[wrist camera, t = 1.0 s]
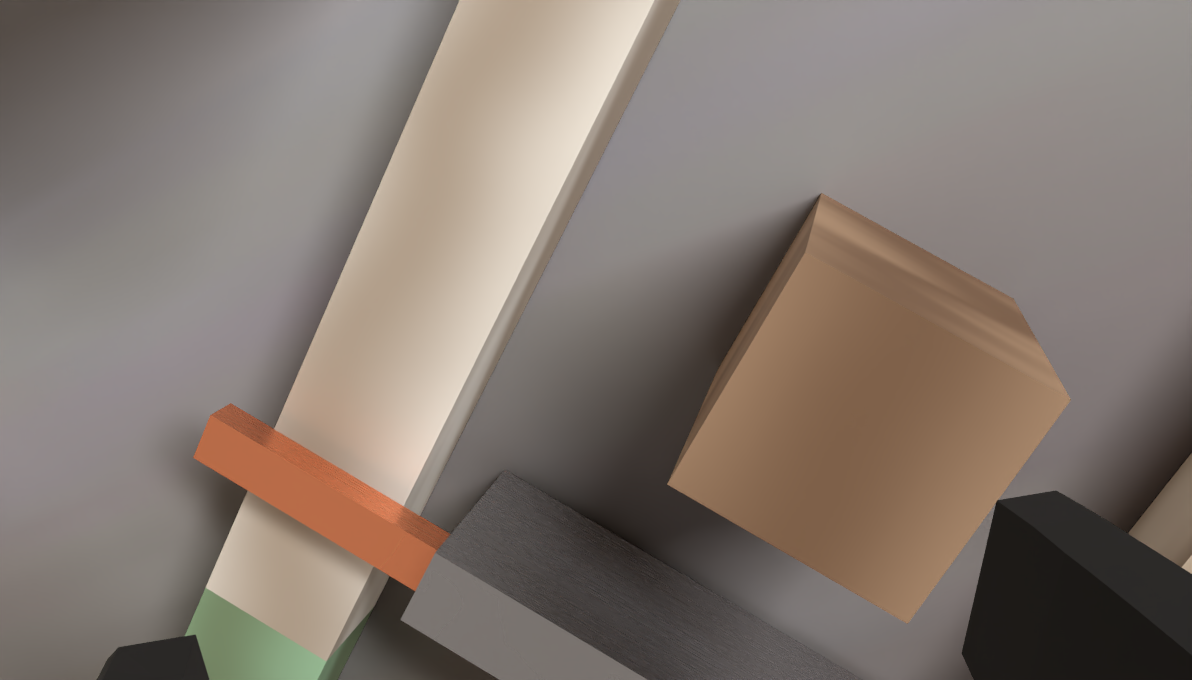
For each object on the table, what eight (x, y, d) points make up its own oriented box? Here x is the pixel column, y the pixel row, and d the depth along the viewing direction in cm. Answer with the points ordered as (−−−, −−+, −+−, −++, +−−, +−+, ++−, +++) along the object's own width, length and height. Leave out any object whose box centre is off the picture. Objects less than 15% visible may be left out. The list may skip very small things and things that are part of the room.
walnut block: (1013, 298, 20) (1070, 399, 15) (895, 470, 22) (907, 623, 16) (821, 193, 20) (805, 252, 15) (718, 369, 22) (667, 484, 16)
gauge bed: (1551, 162, 18) (1771, 203, 13) (704, 1175, 27) (674, 1390, 23) (642, -308, 19) (577, -410, 15) (139, 817, 29) (10, 956, 24)
